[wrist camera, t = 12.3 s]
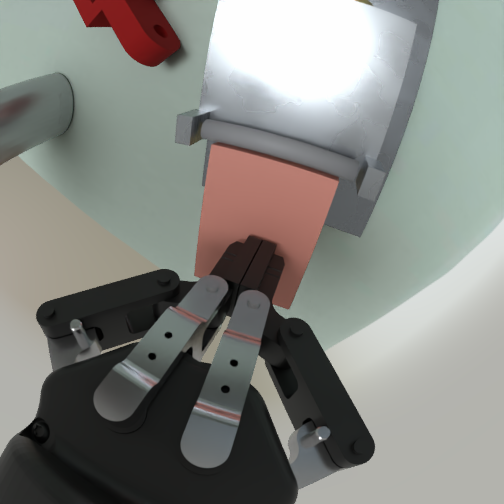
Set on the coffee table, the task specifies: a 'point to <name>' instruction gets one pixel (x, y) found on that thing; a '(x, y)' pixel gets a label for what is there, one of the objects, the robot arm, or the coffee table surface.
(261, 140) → the latch flap
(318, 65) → the latch base plate
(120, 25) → the mechanical linkage
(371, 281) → the coffee table surface
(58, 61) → the coffee table surface
